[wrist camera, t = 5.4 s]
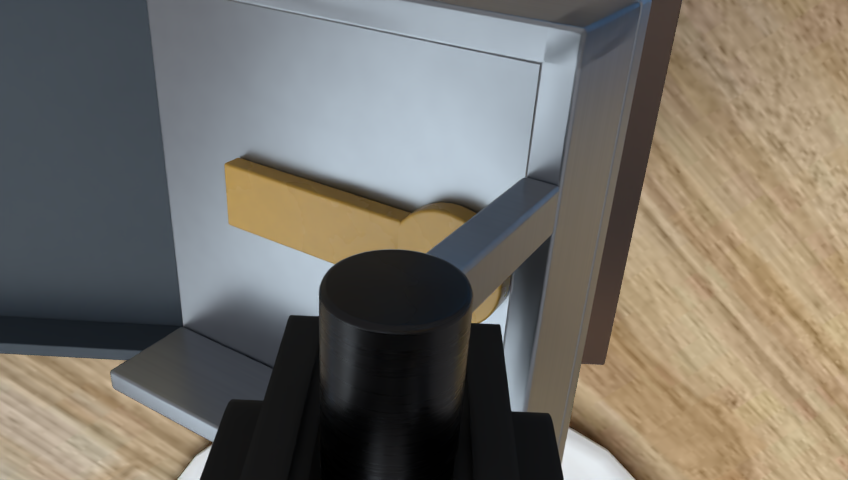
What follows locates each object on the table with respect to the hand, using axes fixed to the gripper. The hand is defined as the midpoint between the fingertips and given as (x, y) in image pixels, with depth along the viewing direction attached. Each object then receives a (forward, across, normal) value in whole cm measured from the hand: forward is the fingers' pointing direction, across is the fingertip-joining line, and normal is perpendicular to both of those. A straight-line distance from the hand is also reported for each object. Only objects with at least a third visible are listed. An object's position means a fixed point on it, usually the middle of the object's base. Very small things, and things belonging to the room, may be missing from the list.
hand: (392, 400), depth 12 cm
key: (+6, +1, 0) cm, 6 cm away
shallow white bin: (+6, +1, 0) cm, 6 cm away
